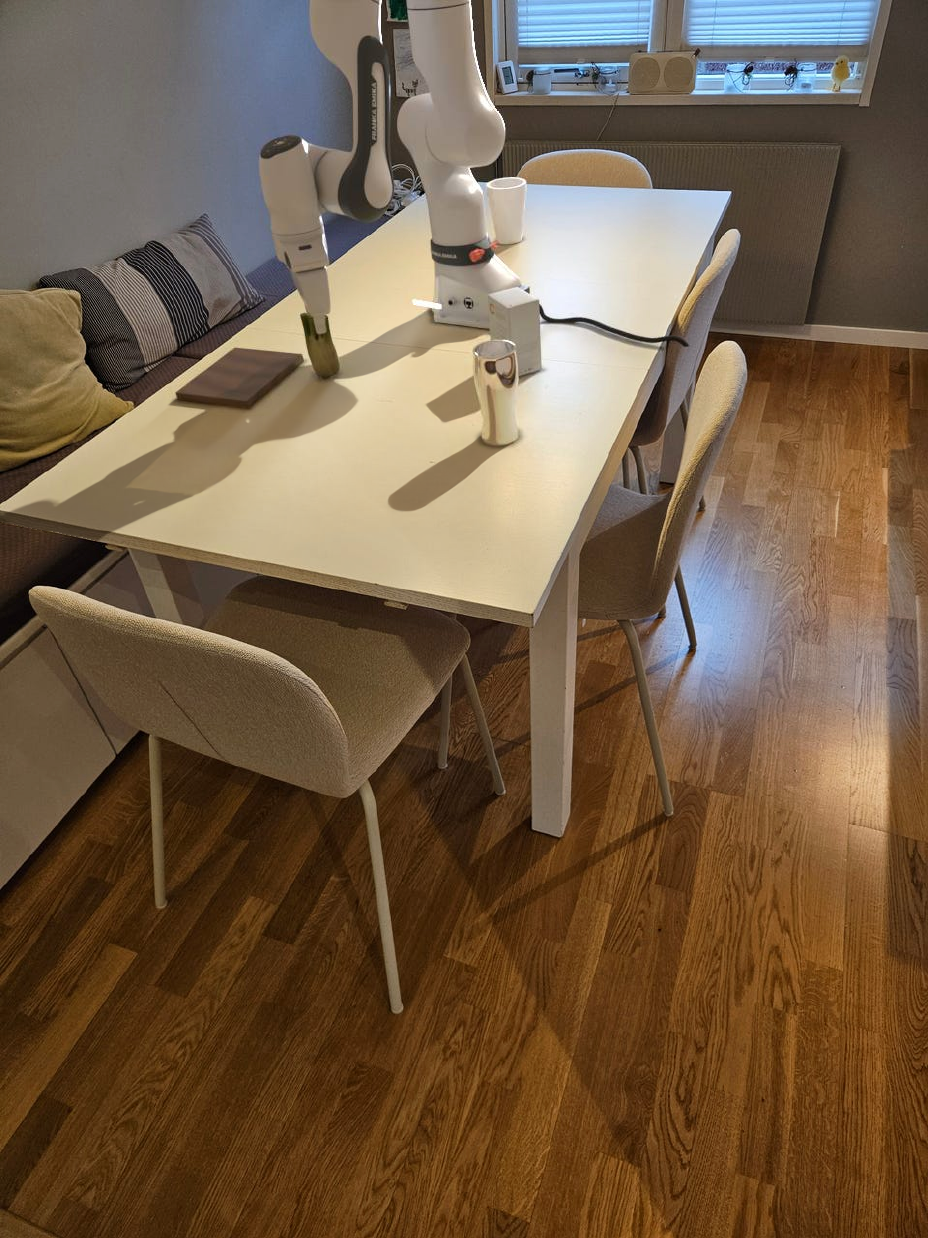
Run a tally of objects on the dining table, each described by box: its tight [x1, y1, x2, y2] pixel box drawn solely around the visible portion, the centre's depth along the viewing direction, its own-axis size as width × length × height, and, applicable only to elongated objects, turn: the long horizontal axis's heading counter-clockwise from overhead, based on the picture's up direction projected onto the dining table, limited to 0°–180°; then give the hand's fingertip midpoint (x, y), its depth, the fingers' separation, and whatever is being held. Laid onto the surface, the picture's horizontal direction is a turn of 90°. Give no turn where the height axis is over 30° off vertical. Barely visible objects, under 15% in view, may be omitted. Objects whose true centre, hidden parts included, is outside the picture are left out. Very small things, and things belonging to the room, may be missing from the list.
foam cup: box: [485, 176, 528, 245], centre depth 209 cm, size 10×9×13 cm
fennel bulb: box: [299, 312, 341, 379], centre depth 161 cm, size 6×5×12 cm
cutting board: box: [174, 347, 305, 410], centre depth 166 cm, size 20×16×2 cm
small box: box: [488, 287, 543, 378], centre depth 156 cm, size 8×6×13 cm
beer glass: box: [472, 339, 520, 446], centre depth 136 cm, size 7×7×15 cm
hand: (316, 322), depth 158 cm, fingers open, 8 cm apart
